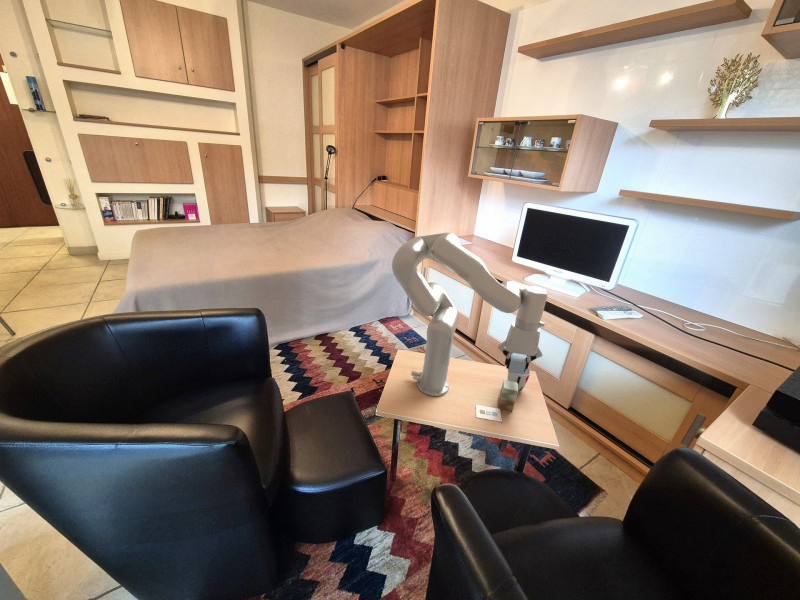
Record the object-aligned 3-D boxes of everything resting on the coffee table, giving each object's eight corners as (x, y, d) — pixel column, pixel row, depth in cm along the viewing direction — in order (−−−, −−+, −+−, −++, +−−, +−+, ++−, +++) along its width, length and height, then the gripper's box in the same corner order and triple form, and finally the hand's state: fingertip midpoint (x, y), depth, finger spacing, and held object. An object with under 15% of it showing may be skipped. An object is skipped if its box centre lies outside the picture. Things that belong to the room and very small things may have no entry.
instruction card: (476, 417, 118) (476, 416, 118) (475, 405, 124) (475, 404, 124) (501, 422, 117) (502, 421, 117) (500, 409, 123) (500, 408, 122)
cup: (511, 396, 130) (517, 376, 125) (500, 383, 137) (505, 363, 132) (528, 394, 132) (535, 374, 128) (517, 381, 139) (522, 361, 135)
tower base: (498, 409, 123) (503, 387, 119) (498, 400, 127) (503, 379, 123) (511, 412, 122) (518, 391, 118) (511, 403, 126) (517, 382, 122)
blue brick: (507, 364, 120) (510, 352, 118) (521, 366, 119) (524, 355, 117) (508, 372, 116) (511, 360, 114) (523, 375, 115) (526, 363, 113)
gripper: (552, 322, 111) (539, 367, 119) (500, 314, 115) (490, 357, 122) (556, 333, 105) (541, 379, 112) (501, 323, 108) (490, 369, 116)
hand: (515, 367), depth 117 cm, fingers closed on blue brick, 5 cm apart
